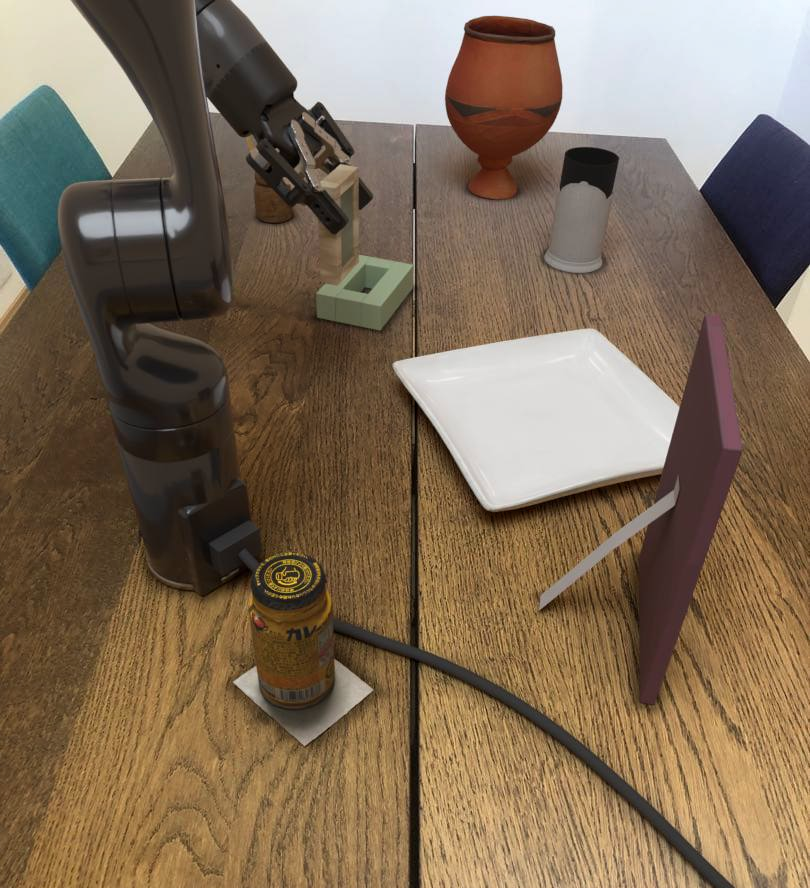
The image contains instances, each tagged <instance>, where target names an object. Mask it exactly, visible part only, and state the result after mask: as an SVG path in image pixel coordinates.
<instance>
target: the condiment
mask: <svg viewBox="0 0 810 888" xmlns="http://www.w3.org/2000/svg"><path fill="white" fill-rule="evenodd" d="M249 583H250V584H249V585H250V590H251V591H250V600H249V604H248V615H249V622H250V623H249V624H250V629H251V639H252V646H253V654H254V660H255V666H253V667H252V668H250V669H249V670H247V671H246V672H245V673H243V674H242V675H239V677H237V678H236V679H234V680H233V682H232V683H233V684H234V685H235V686H237V687H238V688H239V689H240V690H241V691H242V692H243V694H245V695H246V696H247V697H248V698H250V699H251V701H253V702H254V703H255V704H256V705H257V706H258V707H259V708H261V710H262V711H264V712H265V713H266V714H267V715H268V716H269V717H271V718H272V719H274V720H275V721H276V722H277V723H278V725H280V726H281V727H282V728H283V729H284V730H285V731H286V732H287V733H289V734H290V735H291V736H292V737H294V738H295V739H296V740H297V741H298V742H299V743H300V744H301V745H302V746H303V747H306V746H307V745H308V744H310V743H311V742H312V741H313V740H315V739H317V738H318V737H319V736H320V735H322V734H323V733H324V732H325V731H326V730H327V729H328V728H330V727H332V726H334V724H335V723H337V722H338V721H339V720H340V719H341V718H342V717H344V716H346V715H347V714H348V713H349V712H350V711H351V710H352V709H353V708H354V707H356V705H358V704H359V703H360V702H362V701H363V700H364V699H365V698H366V697H367V696H369V695H370V694H371V693H372V692H373V691H374V689H373V688H372V687H371V686H369V685H368V684H367V683H366V682H365V681H363V680H362V679H360V677H359V676H357V675H356V674H355V673H354V672H352V671H351V670H350V669H349V668H348V667H347V666H345V665H344V664H342V663H341V662H340V661H338V660H337V659H336V658H335V649H334V648H335V647H334V644H335V640H334V639H335V635H334V631H333V619H334V614H333V607H334V606H333V600H332V598H331V595H330V592H329V591H328V587H327V575H326V573H325V571H324V568H323V566H322V565H321V564H320V563H319V561H317V560H316V558H313V557H311V556H310V555H308V554H305V553H301V552H296V551H286V552H280V553H276V554H272V555H270V556H268V557H267V558H265V559H264V560H262V561H260V562H259V564H258V566H257V567H256V568H255V570H254V572H252V575H251V577H250V581H249Z"/></svg>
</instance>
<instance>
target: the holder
mask: <svg viewBox="0 0 810 888" xmlns="http://www.w3.org/2000/svg"><path fill="white" fill-rule="evenodd" d="M414 267H415V265H414V264H412V263H406V262H402V261H395V260H390V259H384V258H379V257H374V256H368V255H362V254H359V263H358V264H357V265H356V266H355V267H354V268H353V269H352V271H351V272H350V273H349V274H348V275H347V276H346V277H345V278H344V280H343V281H342V282H341V283H340V284H339V285H338V286H336V285H331V284H326V283H323V285H322V286H321V287H320V288H319V290H318V291H316V292H315V300H316V301H315V302H316V303H315V304H316V318H317V319H321V320H327V321H331V322H336V323H341V324H346V325H351V326H355V327H360V328H365V329H370V330H375V331H382V329H383V328H384V327H385V325H387V323H388V322H389V321H390V319H391V318H392V316H393V315H394V314H395V312H396V311H397V310H398V308H399V307H400V306H401V304H402V303H403V302H404V300H406V298H407V296H409V294H410V292H411V291H412V290H413V288H414ZM364 289H370V291H369V292H368V293H365V292H363V290H364Z"/></svg>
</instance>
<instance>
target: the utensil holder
mask: <svg viewBox="0 0 810 888" xmlns="http://www.w3.org/2000/svg"><path fill="white" fill-rule="evenodd" d="M245 139H246V143H247V145H248V149H249V153H250V152H251V151H252V150H253V148H254V147H255V145H254V142H253V140H252V137H251V135H250V136H248V137H245ZM272 168H273V167H272ZM254 181H255V183H254V186H253V199H254V210H255V215H256V218H257V219H258V220H259V221H261V222H264V223H268V224H280V223H285V222H288V221H289V220H291V219H292V217H293V212H294V211H293V210H294V207H290V206H288V205H287V204H286V203H285V202H284V200H283V199H282V198H281V197H280V196H279V195H278V194H277V193H276V192H275V191H274V190H273V189H272V188H271V187H270V186H269V185H268V184H267V183H266V182H265V181H264V180H263V179H262V178H261V177H260V176H259V175H258V174H257V173H256V171H255V170H254ZM281 182H282V183H283V184H284V185H285V186H286V187H287V189H288V190H289V191H291V190H292V187H291V185H286V184H285V182H284V180H283V178H282V179H281Z"/></svg>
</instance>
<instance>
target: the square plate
mask: <svg viewBox="0 0 810 888" xmlns="http://www.w3.org/2000/svg"><path fill="white" fill-rule="evenodd" d="M391 367H392V369H393V371H394V373H395V375H396V376H397V378H398V379H399V380H400V382H401V383H402V385H403V386H404V388H405V389H406V390H407V391H408V393H409V394H410V395H411V397H412V398H413V399H414V400H415V402H416V403H417V405H418V406H419V408H420V409H421V410H422V411H423V413H424V415H426V417H427V418H428V420H429V421H430V423H431V424H432V426H433V428H434V429H435V430H436V433H438V435H439V437H440V438H441V440H442V441H443V443H444V445H445V446H446V448H447V449H448V451H449V453H450V454H451V457H452V458H453V460H454V462H455V463H456V465H457V467H458V469H459V471H460V472H461V475H462V476H463V478H464V479H465V481H466V483H467V484H468V486H469V488H470V490H472V492H473V494H474V495H475V497H476V499H477V500H478V502H479V503H480V505H481V506H482V508H484V509H485V510H486V511H488V512H492V513H496V512H497V513H499V512H505V511H510V510H517V509H521V508H525V507H530V506H534V505H538V504H541V503H544V502H548V501H552V500H556V499H559V498H562V497H566V496H567V497H568V496H570V495H574V494H579V493H583V492H585V491H590V490H594V489H598V488H601V487H606V486H610V485H614V484H619V483H623V482H629V481H632V480H638V479H641V478H647V477H653V476H657V475H662V471H663V467H664V463H665V460H666V456H667V452H668V449H669V445H670V441H671V438H672V434H673V430H674V426H675V423H676V419H677V415H678V412H679V408H680V405H679V404H677V403H676V402H675V401H674V400H673V399H672V398H671V397H670V396H669V395H668V394H667V393H666V392H664V391H663V389H661V387H659V386H658V384H656V383H655V382H654V381H653V380H652V379H651V378H650V377H649V376H648V375H647V374H645V372H644V371H642V369H641V368H639V366H637V365H636V364H635V363H634V362H633V361H632V360H631V359H630V358H628V357H627V356H626V355H625V354H624V353H623V352H622V351H621V350H619V348H618V347H616V346H615V345H614V344H613V343H612V342H611V341H610V340H609V339H608V338H607V337H605V336H604V335H603V334H602V333H601V332H600V331H599V330H597V329H595V328H590V327H589V328H581V329H575V330H573V329H572V330H567V331H566V330H565V331H561V332H559V331H558V332H553V333H547V334H540V335H532V336H526V337H521V338H516V339H515V338H514V339H508V340H503V341H502V340H501V341H497V342H490V343H485V344H480V345H474V346H468V347H462V348H457V349H451V350H447V351H441V352H436V353H431V354H425V355H420V356H415V357H410V358H405V359H401V360H397V361H394V362H393V363H392V365H391Z"/></svg>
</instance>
